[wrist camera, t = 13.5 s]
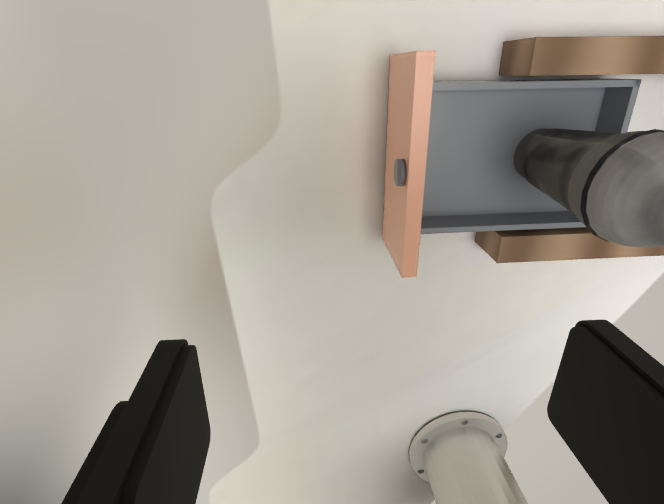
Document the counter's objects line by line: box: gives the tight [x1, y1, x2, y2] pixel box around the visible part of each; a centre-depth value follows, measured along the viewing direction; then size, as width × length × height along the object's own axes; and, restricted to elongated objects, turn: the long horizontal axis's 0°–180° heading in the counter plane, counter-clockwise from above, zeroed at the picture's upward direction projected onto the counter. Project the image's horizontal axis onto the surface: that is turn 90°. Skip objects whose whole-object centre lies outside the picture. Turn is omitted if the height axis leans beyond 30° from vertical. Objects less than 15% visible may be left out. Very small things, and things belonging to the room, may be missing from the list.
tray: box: [383, 51, 641, 277], centre depth 33 cm, size 19×16×8 cm
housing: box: [475, 36, 664, 263], centre depth 35 cm, size 20×18×5 cm
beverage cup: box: [514, 128, 664, 248], centre depth 27 cm, size 7×7×20 cm
